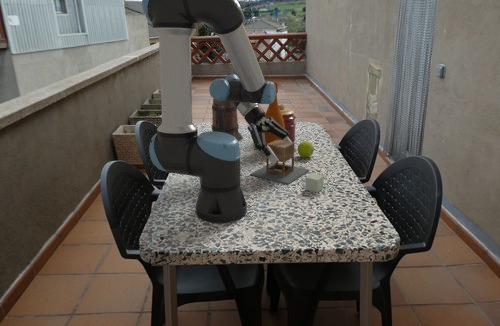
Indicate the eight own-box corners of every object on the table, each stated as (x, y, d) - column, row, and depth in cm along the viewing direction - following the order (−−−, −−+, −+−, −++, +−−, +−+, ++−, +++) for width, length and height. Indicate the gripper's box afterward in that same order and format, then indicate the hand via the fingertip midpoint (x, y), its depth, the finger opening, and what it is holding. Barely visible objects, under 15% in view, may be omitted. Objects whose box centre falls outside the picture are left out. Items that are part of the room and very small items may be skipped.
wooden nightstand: (266, 172, 145) (266, 144, 141) (276, 166, 151) (277, 139, 147) (283, 176, 141) (284, 147, 137) (293, 170, 147) (294, 142, 143)
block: (305, 189, 132) (305, 177, 130) (310, 185, 135) (311, 173, 134) (317, 192, 129) (318, 180, 128) (323, 188, 133) (323, 175, 131)
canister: (285, 147, 176) (286, 108, 170) (261, 142, 183) (261, 105, 177) (300, 140, 185) (301, 103, 179) (277, 136, 193) (277, 100, 187)
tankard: (211, 133, 199) (210, 93, 193) (244, 133, 198) (244, 93, 191) (201, 147, 177) (199, 103, 171) (238, 147, 176) (238, 103, 169)
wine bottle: (288, 153, 168) (290, 82, 158) (267, 156, 165) (267, 83, 154) (278, 146, 177) (279, 79, 166) (258, 149, 173) (258, 80, 163)
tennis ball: (301, 153, 168) (301, 138, 165) (315, 156, 164) (316, 140, 162) (294, 157, 162) (295, 142, 160) (309, 160, 159) (310, 144, 157)
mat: (250, 175, 144) (250, 173, 144) (273, 162, 157) (273, 161, 157) (288, 184, 136) (288, 183, 136) (309, 170, 148) (309, 169, 148)
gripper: (263, 111, 158) (295, 153, 155) (225, 124, 138) (260, 172, 135) (275, 99, 153) (308, 142, 150) (237, 111, 134) (274, 161, 131)
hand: (286, 157), depth 143 cm, fingers open, 13 cm apart
